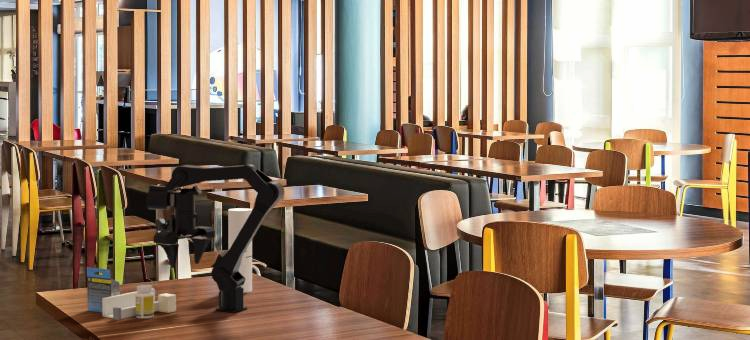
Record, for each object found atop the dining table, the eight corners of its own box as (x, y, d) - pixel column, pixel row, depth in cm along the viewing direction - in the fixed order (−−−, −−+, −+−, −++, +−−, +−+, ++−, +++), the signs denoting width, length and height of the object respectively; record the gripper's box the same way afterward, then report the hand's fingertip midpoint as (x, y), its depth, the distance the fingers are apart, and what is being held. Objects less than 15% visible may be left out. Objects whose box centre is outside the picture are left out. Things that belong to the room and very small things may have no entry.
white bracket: (180, 310, 294) (180, 292, 294) (127, 322, 278) (126, 303, 278) (154, 305, 300) (154, 287, 300) (100, 316, 284) (100, 298, 284)
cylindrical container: (225, 289, 324) (225, 208, 322) (247, 288, 327) (247, 207, 325) (232, 293, 318) (232, 211, 316) (255, 292, 321) (255, 210, 319)
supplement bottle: (156, 315, 287) (155, 284, 286) (150, 319, 282) (150, 287, 282) (138, 314, 287) (138, 284, 287) (133, 318, 283) (132, 287, 282)
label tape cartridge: (120, 312, 291) (120, 267, 290) (111, 314, 288) (110, 269, 287) (96, 308, 295) (96, 264, 294) (86, 311, 292) (86, 266, 291)
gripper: (188, 205, 307) (188, 258, 308) (139, 211, 292) (139, 267, 293) (216, 208, 301) (216, 262, 302) (167, 214, 285) (168, 271, 287)
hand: (184, 265), depth 296 cm, fingers open, 9 cm apart
